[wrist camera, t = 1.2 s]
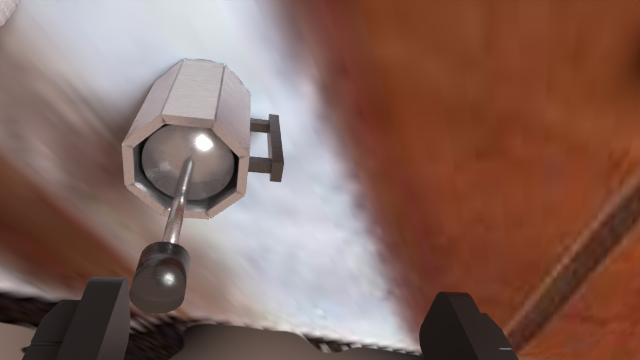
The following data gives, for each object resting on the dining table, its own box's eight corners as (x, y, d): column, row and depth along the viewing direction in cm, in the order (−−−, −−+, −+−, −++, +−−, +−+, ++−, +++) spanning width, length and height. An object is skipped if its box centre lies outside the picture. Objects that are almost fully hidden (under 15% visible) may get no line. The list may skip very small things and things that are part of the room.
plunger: (142, 114, 34) (76, 243, 22) (237, 125, 36) (228, 250, 23) (145, 191, 38) (92, 337, 26) (231, 197, 40) (220, 338, 27)
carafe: (154, 52, 43) (119, 109, 32) (281, 69, 46) (291, 127, 35) (156, 138, 49) (126, 214, 37) (270, 149, 51) (275, 223, 40)
